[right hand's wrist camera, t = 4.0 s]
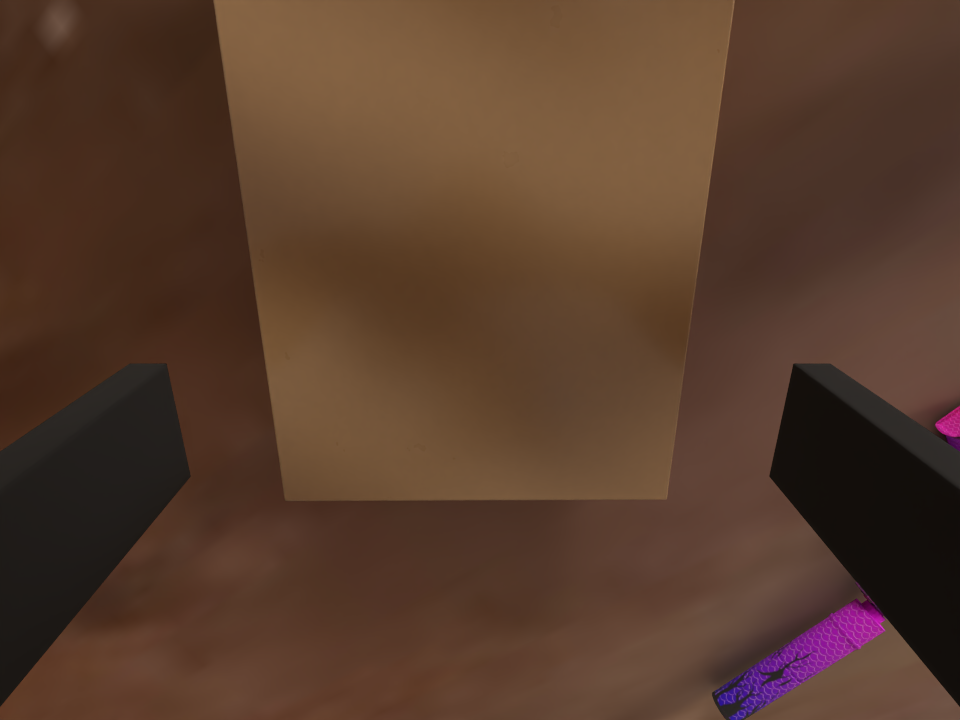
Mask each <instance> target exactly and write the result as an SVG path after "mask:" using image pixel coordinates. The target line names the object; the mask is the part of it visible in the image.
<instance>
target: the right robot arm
mask: <svg viewBox="0 0 960 720" xmlns="http://www.w3.org/2000/svg"><path fill="white" fill-rule="evenodd" d="M189 478H190V471H189V467H188V462H187V457H186V453H185V448H184V443H183V439H182V434H181V429H180V425H179V420H178V415H177V411H176V406H175V401H174V397H173V392H172V387H171V383H170V378H169V373H168V369H167V364H129V365H127V366H126V367H124V368H123V369H121V370H120V371H118V372H117V373H115V374H114V375H112V376H111V377H109V378H108V379H107V380H105V381H104V382H102V383H101V384H99V385H98V386H96V387H95V388H93V389H92V390H90V391H89V392H87V393H86V394H84V395H83V396H81V397H80V398H79V399H77V400H76V401H74V402H73V403H71V404H70V405H68V406H67V407H65V408H64V409H62V410H61V411H59V412H58V413H56V414H55V415H53V416H52V417H51V418H49V419H48V420H46V421H45V422H43V423H42V424H40V425H39V426H37V427H36V428H34V429H33V430H31V431H30V432H28V433H27V434H25V435H24V436H22V437H21V438H20V439H18V440H17V441H15V442H14V443H12V444H11V445H9V446H8V447H6V448H5V449H3V450H2V451H0V706H1V705H2V704H3V703H4V701H5V700H6V699H7V698H8V697H9V695H10V694H11V693H12V692H13V691H14V689H15V688H16V687H17V686H18V685H19V683H20V682H21V681H22V680H23V678H24V677H25V676H26V675H27V674H28V672H29V671H30V670H31V669H32V668H33V666H34V665H35V664H36V663H37V662H38V660H39V659H40V658H41V657H42V655H43V654H44V653H45V652H46V651H47V649H48V648H49V647H50V646H51V645H52V643H53V642H54V641H55V640H56V639H57V637H58V636H59V635H60V634H61V633H62V631H63V630H64V629H65V628H66V626H67V625H68V624H69V623H70V622H71V620H72V619H73V618H74V617H75V616H76V614H77V613H78V612H79V611H80V610H81V608H82V607H83V606H84V605H85V603H86V602H87V601H88V600H89V599H90V597H91V596H92V595H93V594H94V593H95V591H96V590H97V589H98V588H99V587H100V585H101V584H102V583H103V582H104V580H105V579H106V578H107V577H108V576H109V574H110V573H111V572H112V571H113V570H114V568H115V567H116V566H117V565H118V564H119V562H120V561H121V560H122V559H123V557H124V556H125V555H126V554H127V553H128V551H129V550H130V549H131V548H132V547H133V545H134V544H135V543H136V542H137V541H138V539H139V538H140V537H141V536H142V535H143V533H144V532H145V531H146V530H147V528H148V527H149V526H150V525H151V524H152V522H153V521H154V520H155V519H156V518H157V516H158V515H159V514H160V513H161V512H162V510H163V509H164V508H165V507H166V505H167V504H168V503H169V502H170V501H171V499H172V498H173V497H174V496H175V495H176V493H177V492H178V491H179V490H180V489H181V487H182V486H183V485H184V484H185V482H186V481H187V480H188V479H189ZM770 478H771V479H772V480H773V481H774V482H775V484H776V485H777V486H778V487H779V489H780V490H781V491H782V492H783V493H784V495H785V496H786V497H787V498H788V499H789V501H790V502H791V503H792V504H793V505H794V507H795V508H796V509H797V510H798V512H799V513H800V514H801V515H802V516H803V518H804V519H805V520H806V521H807V522H808V524H809V525H810V526H811V527H812V528H813V530H814V531H815V532H816V533H817V535H818V536H819V537H820V538H821V539H822V541H823V542H824V543H825V544H826V545H827V547H828V548H829V549H830V550H831V551H832V553H833V554H834V555H835V556H836V557H837V559H838V560H839V561H840V562H841V564H842V565H843V566H844V567H845V568H846V570H847V571H848V572H849V573H850V574H851V576H852V577H853V578H854V579H855V580H856V582H857V583H858V584H859V585H860V587H861V588H862V589H863V590H864V591H865V593H866V594H867V595H868V596H869V597H870V599H871V600H872V601H873V602H874V603H875V605H876V606H877V607H878V608H879V610H880V611H881V612H882V613H883V614H884V616H885V617H886V618H887V619H888V620H889V622H890V623H891V624H892V625H893V626H894V628H895V629H896V630H897V631H898V633H899V634H900V635H901V636H902V637H903V639H904V640H905V641H906V642H907V643H908V645H909V646H910V647H911V648H912V649H913V651H914V652H915V653H916V654H917V655H918V657H919V658H920V659H921V660H922V662H923V663H924V664H925V665H926V666H927V668H928V669H929V670H930V671H931V672H932V674H933V675H934V676H935V677H936V678H937V680H938V681H939V682H940V683H941V685H942V686H943V687H944V688H945V689H946V691H947V692H948V693H949V694H950V695H951V697H952V698H953V699H954V700H955V701H956V703H957V704H958V705H959V706H960V451H958V450H957V449H955V448H954V447H952V446H951V445H949V444H948V443H946V442H945V441H943V440H942V439H940V438H939V437H938V436H936V435H935V434H933V433H932V432H930V431H929V430H927V429H926V428H924V427H923V426H921V425H920V424H918V423H917V422H915V421H914V420H912V419H911V418H909V417H908V416H907V415H905V414H904V413H902V412H901V411H899V410H898V409H896V408H895V407H893V406H892V405H890V404H889V403H887V402H886V401H884V400H883V399H881V398H880V397H879V396H877V395H876V394H874V393H873V392H871V391H870V390H868V389H867V388H865V387H864V386H862V385H861V384H859V383H858V382H856V381H855V380H853V379H852V378H851V377H849V376H848V375H846V374H845V373H843V372H842V371H840V370H839V369H837V368H836V367H834V366H833V365H831V364H793V369H792V373H791V378H790V383H789V387H788V392H787V397H786V401H785V406H784V411H783V415H782V420H781V425H780V429H779V434H778V439H777V443H776V448H775V453H774V457H773V462H772V467H771V471H770Z"/></svg>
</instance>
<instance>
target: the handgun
mask: <svg viewBox="0 0 960 720" xmlns="http://www.w3.org/2000/svg"><path fill="white" fill-rule="evenodd" d="M935 426H936V428H937V429H938V430H939V431H940V432H941V433H942V434H945V435H946V436H945V437H946V438H947V441H948V444H949V445H951V446H952V447H954V448H955V449H957V450H958V451H960V406H959V407H957V408H956V409H955V410H953V411H952V412H950V413H949V414H948V415H946V416H945V417H943V418H942V419H940V420H939V421H938V422H936V425H935ZM856 585H857V586H858V587H859V588H860V589H861V591H862V593H863V594H864V596H865V598H866V599H867V600H866V601H865V602H863V603H861V602H860V601H859V600H858V599H855V600H854V601H852V602H851V603H849V604H847V605H846V606H844V607H843V608H841V609H840V610H838V611H837V612H835V613H834V614H833V613H831V614H830V615H829V617H828V618H826V619H824V620H823V621H821V622H820V623H818V624H817V625H815V626H814V627H812V628H811V629H809V630H808V631H806V632H805V633H803V634H801V635H800V636H798V637H797V638H795V639H794V640H792V641H791V642H789V643H788V644H786V645H785V646H783V647H782V648H780V649H779V650H778V651H775V652H774V653H772V654H771V655H769V656H768V657H766V658H765V659H763V660H762V661H760V662H759V663H757V664H756V665H754V666H753V667H751V668H749V669H748V670H746V671H745V672H743V673H742V674H740V675H739V676H737V677H736V678H734V679H733V680H731V681H730V682H728V683H727V684H725V685H723V686H722V687H720V688H719V689H717V690H716V691H714V692H713V693H712V696H713V699H714V701H715V704H716V706H717V707H718V709H719V711H720V712H721V714H722V715H723V716H724V718H725V719H726V720H744V719H746V718H747V717H749V716H751V715H752V714H754V713H755V712H757V711H758V710H760V709H762V708H763V707H765V706H766V705H768V704H770V703H771V702H773V701H774V700H776V699H778V698H779V697H781V696H782V695H784V694H786V693H787V692H789V691H790V690H792V689H794V688H795V687H797V686H798V685H800V684H801V683H803V682H805V681H806V680H808V679H810V678H811V677H813V676H814V675H816V674H818V673H819V672H821V671H822V670H824V669H825V668H827V667H829V666H830V665H832V664H833V663H835V662H837V661H838V660H840V659H841V658H843V657H845V656H846V655H848V654H849V653H851V652H853V651H854V650H857V649H860V648H861V646H862V645H864V644H865V643H867V642H868V641H870V640H872V639H873V638H875V637H876V636H878V635H880V634H881V633H883V632H884V631H885V630H884V629H883V627H882V626H881V625H880V623H881V622H883V621H885V618H884V617H883V615H884V614H883V613H882V612H881V611H880V610H879V608H878V607H877V606H876V605H875V603H874V602H873V601H872V600H871V599H870V597H869V596H868V595H867V594H866V593H865V591H864V590H863V589H862V588H861V587H860V585H859V584H858V583H857V582H856ZM868 600H869V601H870V602H871V603H870V602H869V601H868Z"/></svg>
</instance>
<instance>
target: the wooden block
mask: <svg viewBox="0 0 960 720" xmlns="http://www.w3.org/2000/svg"><path fill="white" fill-rule="evenodd" d="M213 1H214V8H215V15H216V22H217V29H218V36H219V43H220V50H221V57H222V64H223V71H224V78H225V85H226V92H227V99H228V106H229V113H230V120H231V127H232V134H233V141H234V148H235V155H236V162H237V169H238V176H239V183H240V190H241V197H242V204H243V211H244V218H245V225H246V232H247V239H248V246H249V253H250V260H251V267H252V274H253V281H254V288H255V295H256V302H257V309H258V316H259V323H260V330H261V337H262V344H263V351H264V358H265V365H266V372H267V379H268V386H269V393H270V400H271V407H272V414H273V421H274V428H275V435H276V442H277V449H278V456H279V463H280V470H281V477H282V484H283V491H284V498H285V501H411V500H662V499H667V493H668V485H669V478H670V471H671V463H672V456H673V449H674V441H675V434H676V427H677V419H678V412H679V405H680V397H681V390H682V383H683V375H684V368H685V361H686V353H687V346H688V339H689V331H690V324H691V317H692V310H693V302H694V295H695V288H696V280H697V273H698V266H699V258H700V251H701V244H702V236H703V229H704V222H705V214H706V207H707V200H708V192H709V185H710V178H711V170H712V163H713V156H714V149H715V141H716V134H717V127H718V119H719V112H720V105H721V97H722V90H723V83H724V75H725V68H726V61H727V53H728V46H729V39H730V31H731V24H732V17H733V9H734V2H735V0H213Z"/></svg>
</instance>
